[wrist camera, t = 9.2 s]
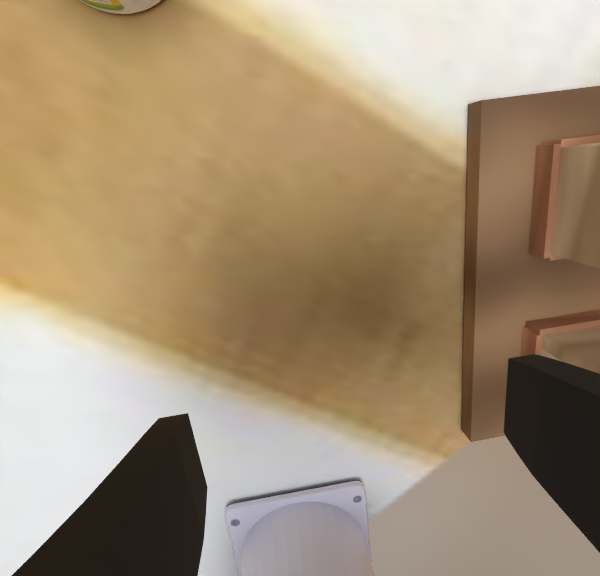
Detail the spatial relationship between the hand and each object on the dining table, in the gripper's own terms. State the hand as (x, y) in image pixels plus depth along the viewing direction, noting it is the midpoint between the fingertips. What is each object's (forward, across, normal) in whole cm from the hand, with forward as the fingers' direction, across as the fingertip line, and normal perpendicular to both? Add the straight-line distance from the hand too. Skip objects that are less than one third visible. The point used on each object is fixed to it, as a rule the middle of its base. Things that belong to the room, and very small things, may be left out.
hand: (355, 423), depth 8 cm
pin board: (+10, -13, +2) cm, 16 cm away
